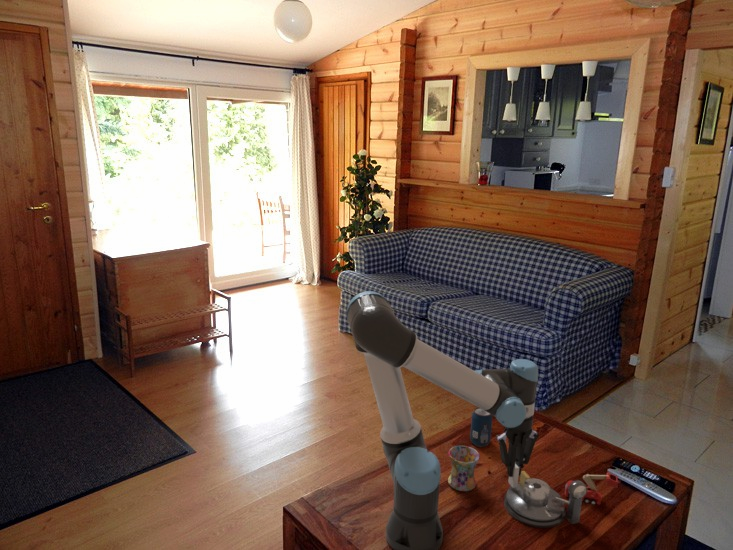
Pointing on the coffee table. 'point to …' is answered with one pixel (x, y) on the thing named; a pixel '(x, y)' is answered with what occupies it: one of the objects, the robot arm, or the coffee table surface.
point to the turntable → (531, 513)
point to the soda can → (481, 427)
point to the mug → (463, 467)
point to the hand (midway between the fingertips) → (512, 484)
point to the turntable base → (532, 523)
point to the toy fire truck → (594, 487)
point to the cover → (536, 492)
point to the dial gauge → (574, 500)
